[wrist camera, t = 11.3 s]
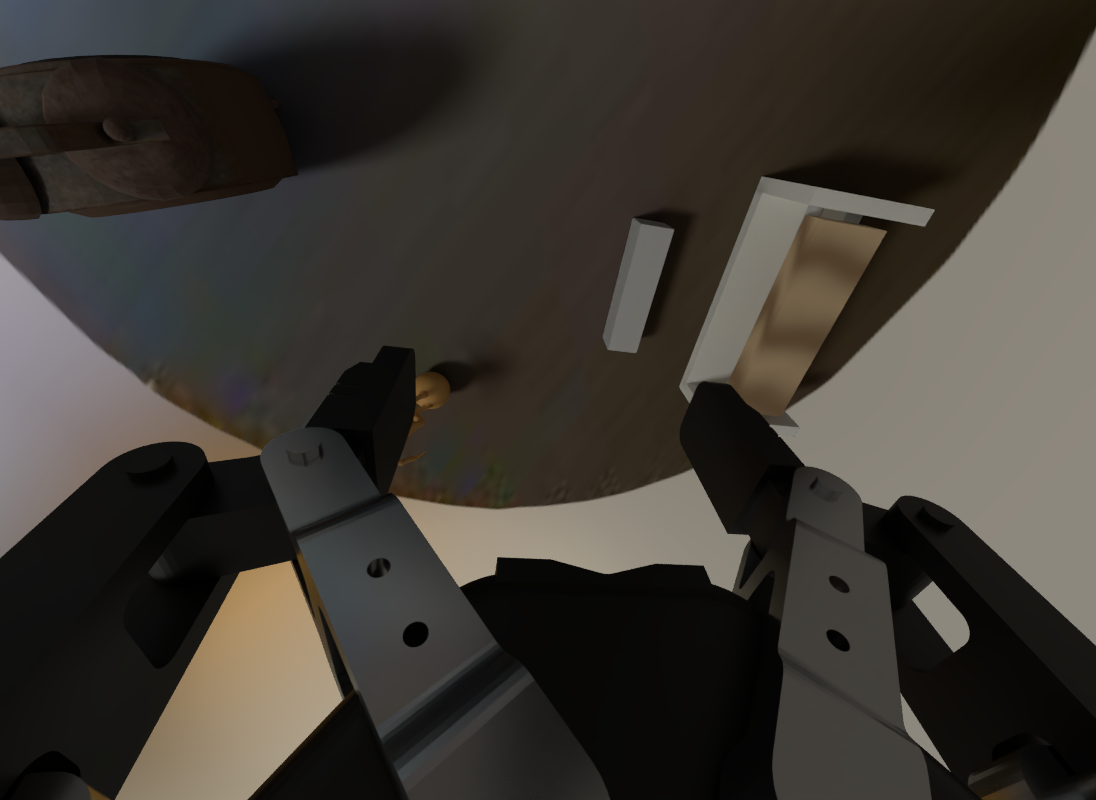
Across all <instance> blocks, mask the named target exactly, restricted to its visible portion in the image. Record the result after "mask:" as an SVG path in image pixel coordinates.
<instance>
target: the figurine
mask: <svg viewBox="0 0 1096 800" xmlns="http://www.w3.org/2000/svg"><path fill="white" fill-rule="evenodd" d="M449 396H450V385H449V383H448V381H447V379H446V378H445V377H444V376H442V375H441V374H439V373H436V372H425V373H423V374H421V375H419V376H418V377H417V378H416V403H417V404H419V405H420V406H422V407H421V408H420V409H418V405H416V408H415V415H414V421H413V423H412V426H411V429H410V431H409V434H408V437H409V436H410V435H411V434H412V433H413V432H415V431H416V430H417V429H419V428H420V427H422V426H424V424H425V421H424V419H423V418H422V417H421V416H420V415H419V414H421V413H422V412H423V411H424V410H426V409H435V408H438V407H441V406H442V405H444V404H445V403H446V401H447V400H448V398H449ZM408 437H407V439H408ZM425 452H426V450H425V451H424V452H422V453H421V454H420V455H418V456H412V457H409V458H407V459H404V460H401V459H400V460H399V462H398V465H400V466H401V465H404V464H406V463H408V462H411V461H414V460H416V459H418V458H420V457H421V456H422V455H423V454H424V453H425Z"/></svg>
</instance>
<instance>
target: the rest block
mask: <svg viewBox="0 0 1096 800" xmlns="http://www.w3.org/2000/svg"><path fill="white" fill-rule="evenodd" d="M673 232H674V229H673V228H671V227H670V226H668V225H667V224H665V223H662V222H656V221H650V220H644V219H638V218H633V220H632V223H631V227H630V231H629V235H628V239H627V243H626V247H625V251H624V255H623V259H622V263H621V267H620V271H619V275H618V279H617V283H616V287H615V290H614V294H613V298H612V302H611V306H610V310H609V314H608V318H607V322H606V326H605V330H604V334H603V339H604V342H605V344H606V347H607V349H608V350H614V351H622V352H631V353H636V352H637V349H638V346H639V342H640V339H641V336H642V333H643V329H644V326H645V323H646V320H647V316H648V313H649V310H650V307H651V304H652V300H653V297H654V294H655V291H656V287H657V284H658V281H659V278H660V274H661V271H662V268H663V265H664V262H665V258H666V255H667V252H668V249H669V245H670V242H671V239H672V236H673Z"/></svg>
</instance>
